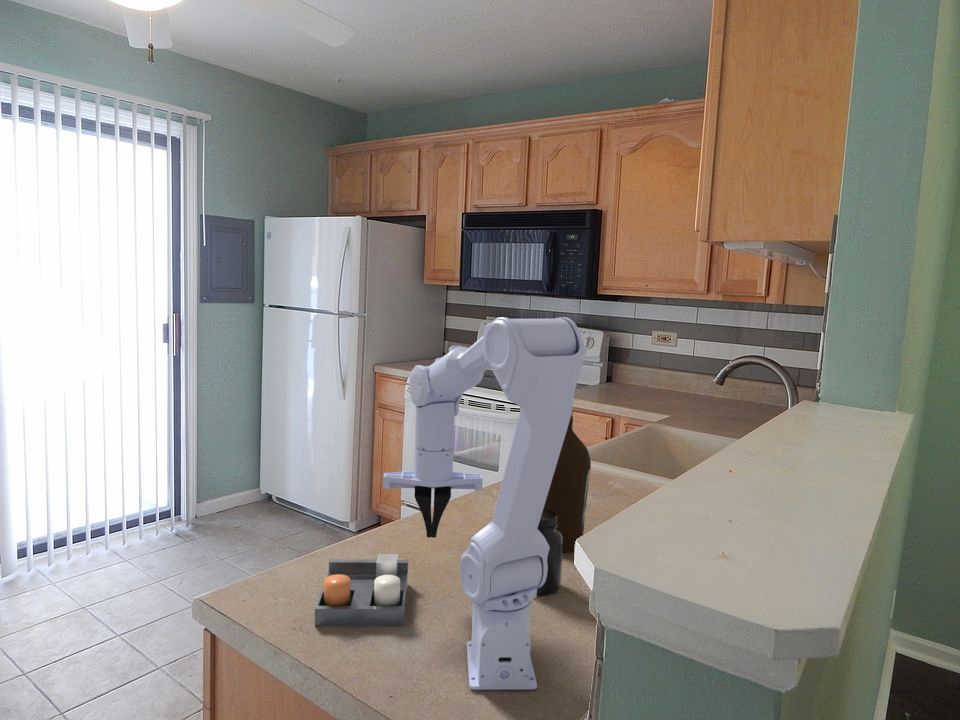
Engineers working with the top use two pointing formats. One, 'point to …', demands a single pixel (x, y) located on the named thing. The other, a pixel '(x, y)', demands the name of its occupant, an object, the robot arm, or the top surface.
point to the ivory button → (387, 590)
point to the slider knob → (387, 564)
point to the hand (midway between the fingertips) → (431, 534)
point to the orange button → (336, 590)
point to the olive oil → (570, 488)
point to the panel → (362, 597)
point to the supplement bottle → (551, 553)
